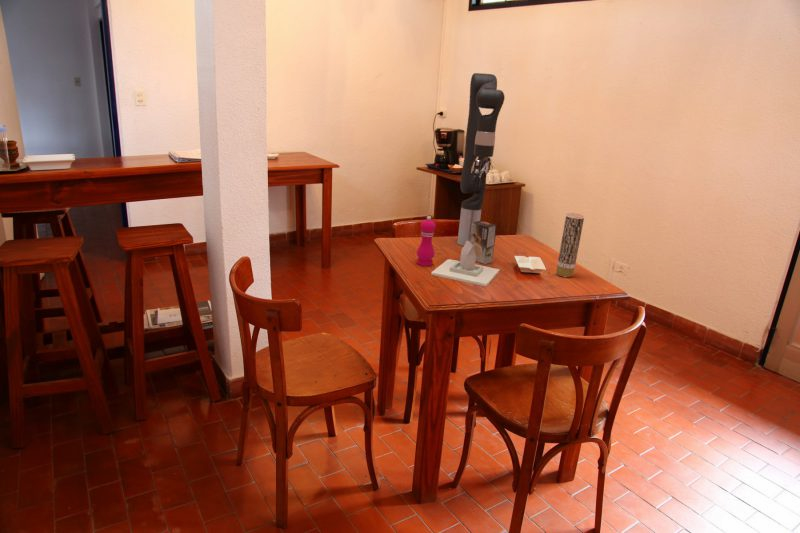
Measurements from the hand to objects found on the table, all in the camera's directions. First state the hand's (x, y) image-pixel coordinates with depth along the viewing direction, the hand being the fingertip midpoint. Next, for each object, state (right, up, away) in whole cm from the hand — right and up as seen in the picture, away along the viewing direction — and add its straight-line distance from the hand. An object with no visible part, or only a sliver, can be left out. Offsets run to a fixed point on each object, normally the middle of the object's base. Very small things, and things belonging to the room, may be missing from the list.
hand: (479, 185), depth 213 cm
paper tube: (+35, -36, +6) cm, 51 cm away
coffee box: (+3, -30, +17) cm, 34 cm away
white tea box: (-5, -33, -1) cm, 33 cm away
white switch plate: (-5, -35, -1) cm, 35 cm away
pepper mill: (-21, -31, +7) cm, 39 cm away
